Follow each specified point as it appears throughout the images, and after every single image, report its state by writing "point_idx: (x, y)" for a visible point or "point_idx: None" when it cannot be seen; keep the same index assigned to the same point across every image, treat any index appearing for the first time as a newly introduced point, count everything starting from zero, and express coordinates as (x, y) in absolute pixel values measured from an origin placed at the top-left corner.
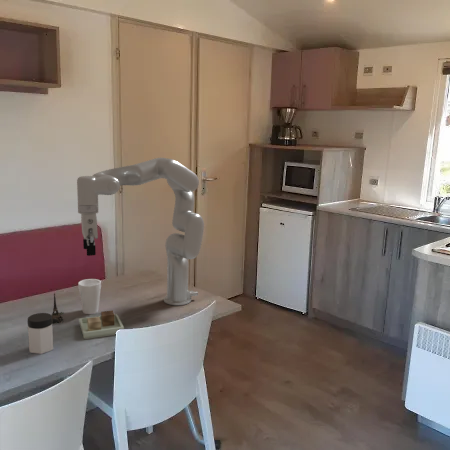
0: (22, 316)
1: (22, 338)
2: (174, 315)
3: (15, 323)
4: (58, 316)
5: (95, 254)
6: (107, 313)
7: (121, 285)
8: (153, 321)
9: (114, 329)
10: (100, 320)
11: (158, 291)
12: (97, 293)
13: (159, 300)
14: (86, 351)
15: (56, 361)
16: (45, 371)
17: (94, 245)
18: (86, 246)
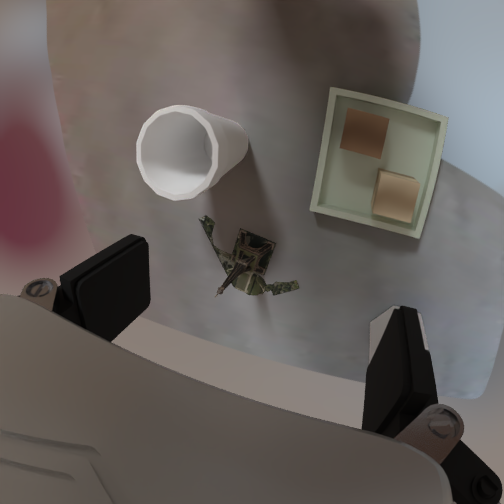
0: (193, 305)
1: (319, 344)
2: None
3: (227, 329)
4: (258, 254)
5: (416, 310)
6: (367, 135)
7: (89, 30)
8: (394, 3)
9: (442, 147)
10: (413, 182)
11: None
12: (225, 128)
13: None
14: (477, 253)
15: (471, 321)
16: (487, 346)
17: (426, 400)
18: (135, 297)
